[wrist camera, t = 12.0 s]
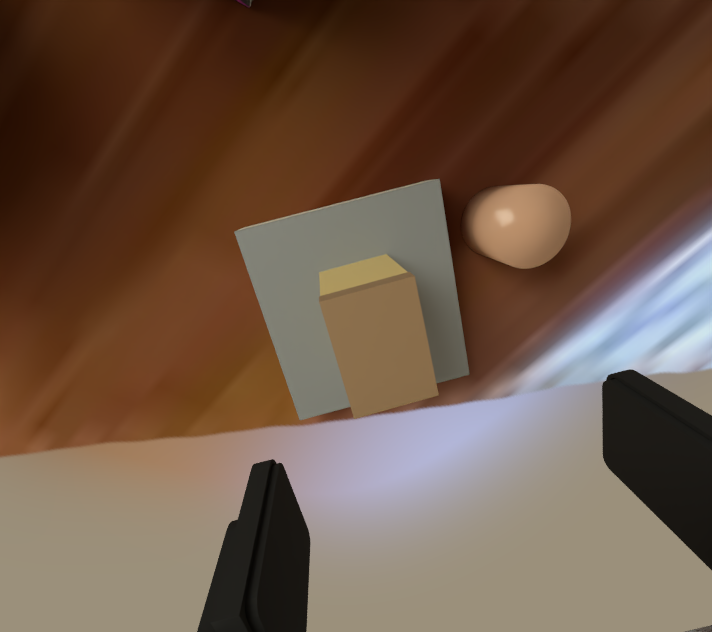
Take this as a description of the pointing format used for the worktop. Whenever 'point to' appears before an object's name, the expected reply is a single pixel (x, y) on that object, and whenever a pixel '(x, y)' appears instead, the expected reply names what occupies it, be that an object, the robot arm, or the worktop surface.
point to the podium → (342, 247)
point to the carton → (377, 334)
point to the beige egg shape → (517, 224)
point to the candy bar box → (245, 2)
